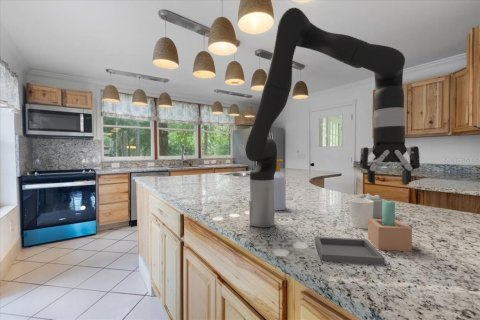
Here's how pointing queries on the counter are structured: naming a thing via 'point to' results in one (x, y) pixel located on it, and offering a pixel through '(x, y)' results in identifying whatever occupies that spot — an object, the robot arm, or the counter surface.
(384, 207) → the dowel
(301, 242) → the counter surface
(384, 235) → the pot
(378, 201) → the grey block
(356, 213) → the white cup
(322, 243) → the tray
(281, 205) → the soap bottle
